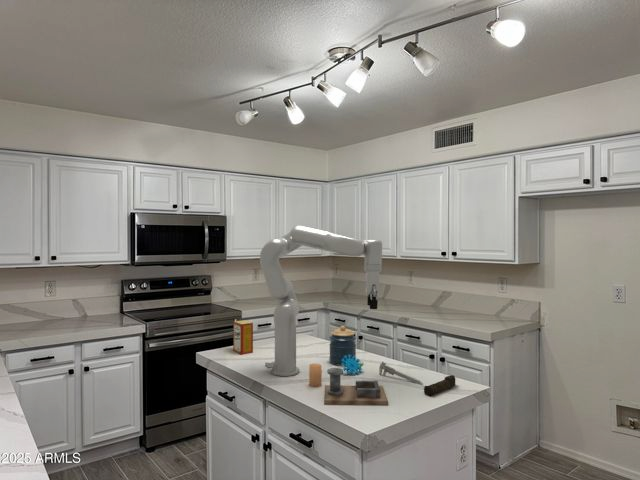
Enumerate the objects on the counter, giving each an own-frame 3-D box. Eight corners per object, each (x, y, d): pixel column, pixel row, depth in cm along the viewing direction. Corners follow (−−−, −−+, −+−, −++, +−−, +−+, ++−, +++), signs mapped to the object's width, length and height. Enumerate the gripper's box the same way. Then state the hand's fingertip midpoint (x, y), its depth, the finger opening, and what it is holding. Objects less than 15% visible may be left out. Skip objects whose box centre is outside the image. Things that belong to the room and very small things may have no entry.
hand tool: (431, 397, 166) (431, 385, 166) (423, 394, 170) (423, 382, 170) (460, 387, 178) (461, 376, 178) (452, 384, 181) (452, 373, 181)
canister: (323, 361, 214) (323, 325, 213) (342, 356, 222) (342, 322, 222) (342, 367, 204) (342, 329, 204) (361, 362, 212) (361, 326, 212)
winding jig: (324, 404, 159) (324, 376, 159) (324, 389, 175) (325, 364, 175) (388, 405, 159) (388, 377, 159) (382, 389, 175) (382, 364, 174)
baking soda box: (233, 350, 233) (233, 320, 233) (244, 349, 237) (244, 319, 237) (241, 354, 226) (241, 323, 225) (252, 352, 230) (252, 322, 229)
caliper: (379, 375, 193) (379, 361, 193) (380, 375, 194) (380, 360, 194) (422, 385, 181) (422, 370, 181) (423, 384, 181) (423, 369, 181)
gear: (344, 373, 190) (340, 353, 197) (339, 380, 194) (335, 360, 200) (367, 374, 194) (362, 354, 201) (361, 380, 197) (356, 361, 204)
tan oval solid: (309, 386, 178) (309, 367, 178) (309, 382, 183) (309, 363, 183) (321, 386, 178) (321, 367, 178) (321, 382, 183) (321, 363, 183)
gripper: (362, 266, 201) (361, 303, 201) (366, 269, 183) (365, 310, 183) (379, 266, 200) (378, 304, 201) (384, 269, 183) (383, 310, 183)
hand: (372, 307), depth 192 cm, fingers open, 9 cm apart
